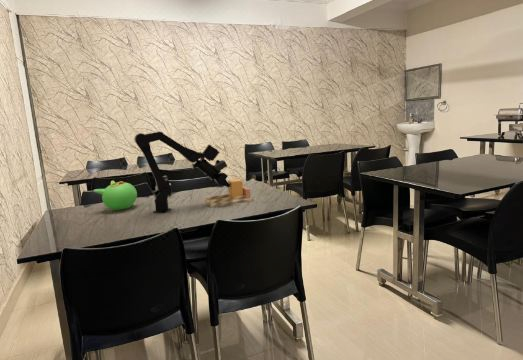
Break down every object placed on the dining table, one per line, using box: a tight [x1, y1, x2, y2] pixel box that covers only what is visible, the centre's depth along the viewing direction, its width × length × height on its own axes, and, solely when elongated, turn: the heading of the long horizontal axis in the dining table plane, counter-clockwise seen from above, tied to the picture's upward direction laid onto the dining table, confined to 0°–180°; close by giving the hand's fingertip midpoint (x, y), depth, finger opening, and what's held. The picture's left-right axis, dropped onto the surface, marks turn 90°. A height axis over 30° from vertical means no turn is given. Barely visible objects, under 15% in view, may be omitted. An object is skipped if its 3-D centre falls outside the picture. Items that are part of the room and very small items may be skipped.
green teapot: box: [93, 180, 138, 211], centre depth 188 cm, size 18×17×15 cm
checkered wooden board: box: [203, 193, 254, 208], centre depth 193 cm, size 22×14×3 cm, turn 113°
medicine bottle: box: [155, 175, 173, 199], centre depth 210 cm, size 7×7×12 cm
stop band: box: [243, 185, 251, 199], centre depth 196 cm, size 2×12×5 cm, turn 23°
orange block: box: [227, 178, 244, 197], centre depth 193 cm, size 6×6×9 cm
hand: (229, 186), depth 192 cm, fingers closed
